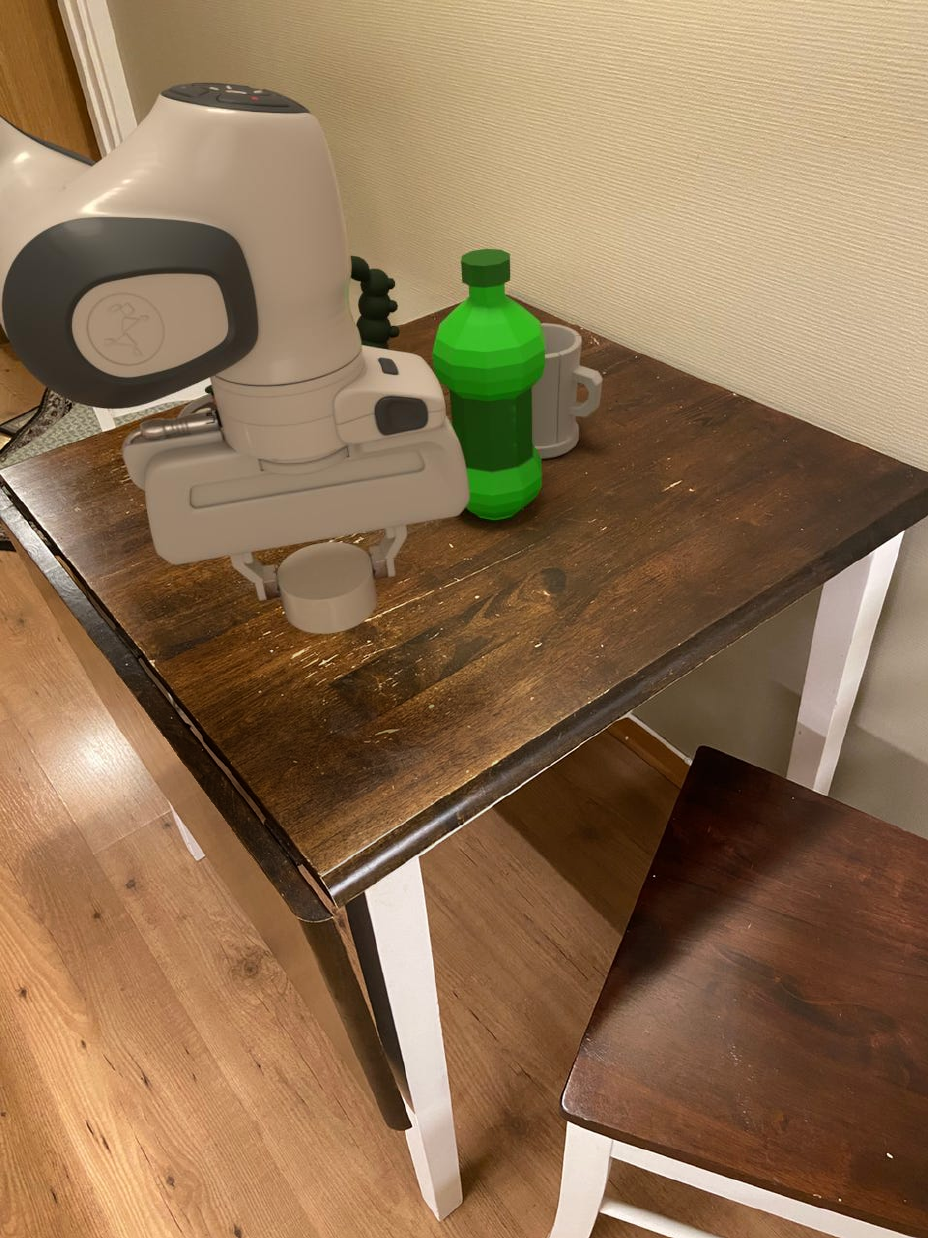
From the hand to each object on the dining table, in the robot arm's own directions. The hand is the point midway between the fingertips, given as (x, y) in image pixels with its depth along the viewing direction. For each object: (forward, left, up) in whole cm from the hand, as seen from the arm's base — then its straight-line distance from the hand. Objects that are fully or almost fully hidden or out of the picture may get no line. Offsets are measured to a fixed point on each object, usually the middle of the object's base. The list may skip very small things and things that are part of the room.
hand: (327, 583), depth 61 cm
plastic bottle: (+18, +25, -13) cm, 34 cm away
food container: (-9, +34, -13) cm, 38 cm away
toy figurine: (+2, +50, -13) cm, 51 cm away
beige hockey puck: (0, 0, -2) cm, 2 cm away
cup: (+27, +36, -13) cm, 47 cm away
